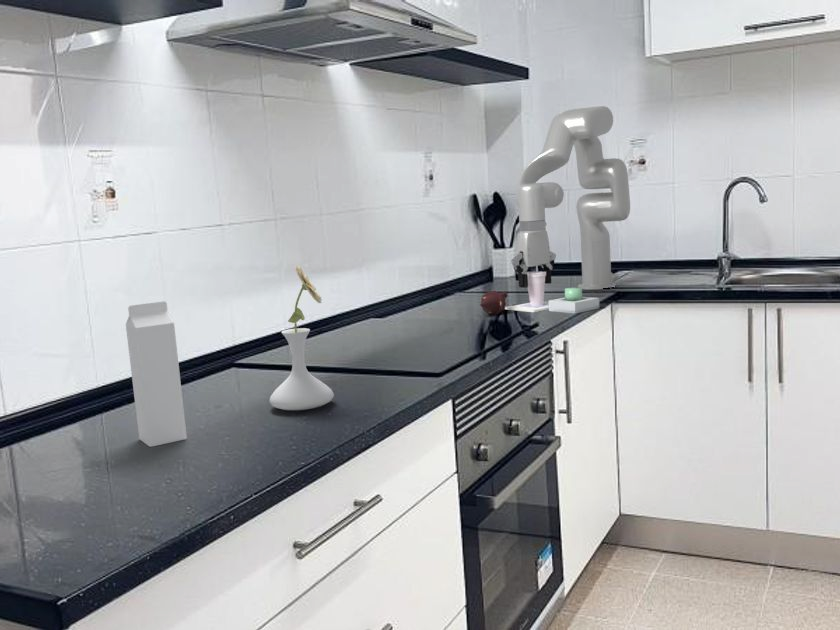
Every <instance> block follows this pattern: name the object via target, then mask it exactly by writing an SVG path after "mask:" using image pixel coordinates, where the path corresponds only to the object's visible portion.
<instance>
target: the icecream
mask: <svg viewBox="0 0 840 630" xmlns="http://www.w3.org/2000/svg"><path fill="white" fill-rule="evenodd" d="M507 297H508V293H507V291H503V292H498V291H495V290H494V291H487V292H486V293H485V294H483V295H482V296H481V301H480V304H479V306H480V307H482V310H483V312H484V313H486V314H488V315H489V316H496V315H497V316H498V315H499V314H501V313H502V312H503V311H504V310H505V307H507V301H506V298H507Z"/></svg>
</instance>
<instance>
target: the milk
mask: <svg viewBox="0 0 840 630" xmlns="http://www.w3.org/2000/svg"><path fill="white" fill-rule="evenodd" d="M127 309H128V317H127V320H126V322H125V331H126V338H127V347H128V354H129V363H130V373H131V381H132V389H133V397H134V405H135V413H136V415H135V416H136V421H137V423H136V424H137V429H138V438H139V440H140V441H141V442H142V443H144V444H145V445H146V446H148V447H150V448H152V447H156V446H160V445H165V444H171V443H175V442H180V441H184V440H185V441H186V440H187V437H188V436H187V428H186V420H185V411H184V401H183V392H182V391H183V390H182V384H181V383H182V382H181V374H180V366H179V365H180V364H179V356H178V347H177V338H176V330H175V329H176V328H175V322H174V320H173V318H172V316H171V315H170V313H169V310H168V305H167V302H166V301H163V300H162V301H157V302H148V303H147V302H146V303H141V304H134V305H129V306H128V307H127Z"/></svg>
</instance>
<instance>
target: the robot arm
mask: <svg viewBox="0 0 840 630" xmlns="http://www.w3.org/2000/svg"><path fill="white" fill-rule="evenodd" d="M613 124H614V115H613V112H612V110H611V108H609V107H608V106H605V105H600V106H591V107H583V108H582V107H581V108H575V109H574V108H573V109H570V110H569V109H568V110H565V111H563V112H561V113H559V114H557V115H554V117H553V118H552V120H551V122H550V125H549V128H548V132H547V135H546V138H545V142H544V144H543V148H542V151H541V152H540V153H539V154H538V155H537V156H536V157H534V158H533V159H532V160H531V161H530V162H529V163H528V164H527V165H526V166H525V167H524V169H523V170H522V172H521V173H520V175H519V178H518V181H517V184H516V188H515V192H514V193H515V194H514V195H515V196H514V198H515V202H516V204H517V206H518V221H519V223H518V224H519V232H518V233H517V237H516V247H515V256H514V257H513V258H512V259H511V262H510V263H511V265H512V266H513V269H514V271H515V272H516V274H517V277H518V287H519V288H525V289H528V276H527V274H525V273H526V272H528V269H529V268H531V267H532V268H533V267H536V266H538V267H540V266H541V268H542V269H541V271H545V272H546V276H545V285H546V284H548V285H549V284H552V270H553V266H554V265H555V260H556V257H557V254H556V253H554V252H553V251H551V250H550V240H549V236H548V231H547V230H546V227H547V222H546V209H551V208H552V209H553V208H556V207H558V206H560V205H561V203H562V202H563V200H564V198H565V197H564V196H565V195H564V190H563V187H562V186H561V185H560V184H558V183H557V182H553V181H549V182H538V181H539V180H541V179H542V178H543V177H545V176H547V175H549V174H551V173H553V172H555V171H556V170H559V169H560V168H562V167H564V166H565V165H566V164H568V162H569V161H570V158H571V153H572V150H573V147H574V149H575V155H576V158H575V159H576V165H577V166H576V169H577V179H578V183H579V185H580V187H581V188H582V189H585V190H602V189H605V190H606V189H609V190H610V192H609V191H608V192H607V191H606V192H590V193H585V194H583V195H581V196H580V197H579V198H578V199H577V201H576V213H577V218H578V219H577V220H578V223H579V231H580V233H579V234H580V248H581V249H580V251H581V252H580V253H581V254H580V255H581V258H580V259H581V275H582V276H581V277H582V278H581V280H582V283H579V284H578V285H577V287H579V288H582V290H587V291H592V290H593V291H595V290H598V291H599V290H604V289H603V288H608V287H612V286H615V285H616V286H617V283H616V282H614V280H619V279H620V277H621V275H620V274H619V273H613V272H612V264H611V237H610V232H609V230H608V228H607V227H606V226H605V225H604V222H620V221H621V222H622V221H625V220H627V218H628V217H629V216H630V213H631V197H630V185H629V173H628V168H627V166H626V163H625V162H624V160H622V159H621V158H604V154H603V146H602V142H601V140H600V138H599V137H601V136H603V135H605V134H607V133H609V132H610V131H611V129H612V127H613Z"/></svg>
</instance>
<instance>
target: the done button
mask: <svg viewBox="0 0 840 630" xmlns="http://www.w3.org/2000/svg"><path fill="white" fill-rule="evenodd" d="M582 297H583V289H582V288H579V287H578V286H577V287H566V288H564V298H565V301H579V300H582Z"/></svg>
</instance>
